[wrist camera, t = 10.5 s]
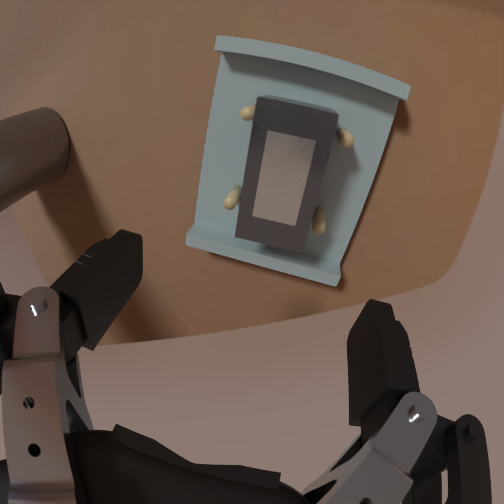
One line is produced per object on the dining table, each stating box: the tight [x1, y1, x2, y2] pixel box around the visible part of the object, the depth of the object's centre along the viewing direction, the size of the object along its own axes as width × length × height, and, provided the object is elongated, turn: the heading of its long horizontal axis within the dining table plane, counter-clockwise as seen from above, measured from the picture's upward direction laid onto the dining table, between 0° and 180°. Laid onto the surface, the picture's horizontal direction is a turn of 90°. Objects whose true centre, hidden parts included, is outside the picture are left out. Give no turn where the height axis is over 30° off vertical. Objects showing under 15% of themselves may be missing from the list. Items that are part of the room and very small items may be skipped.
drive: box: [235, 95, 339, 253], centre depth 21 cm, size 10×5×5 cm, turn 171°
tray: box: [186, 35, 411, 287], centre depth 22 cm, size 14×18×4 cm
